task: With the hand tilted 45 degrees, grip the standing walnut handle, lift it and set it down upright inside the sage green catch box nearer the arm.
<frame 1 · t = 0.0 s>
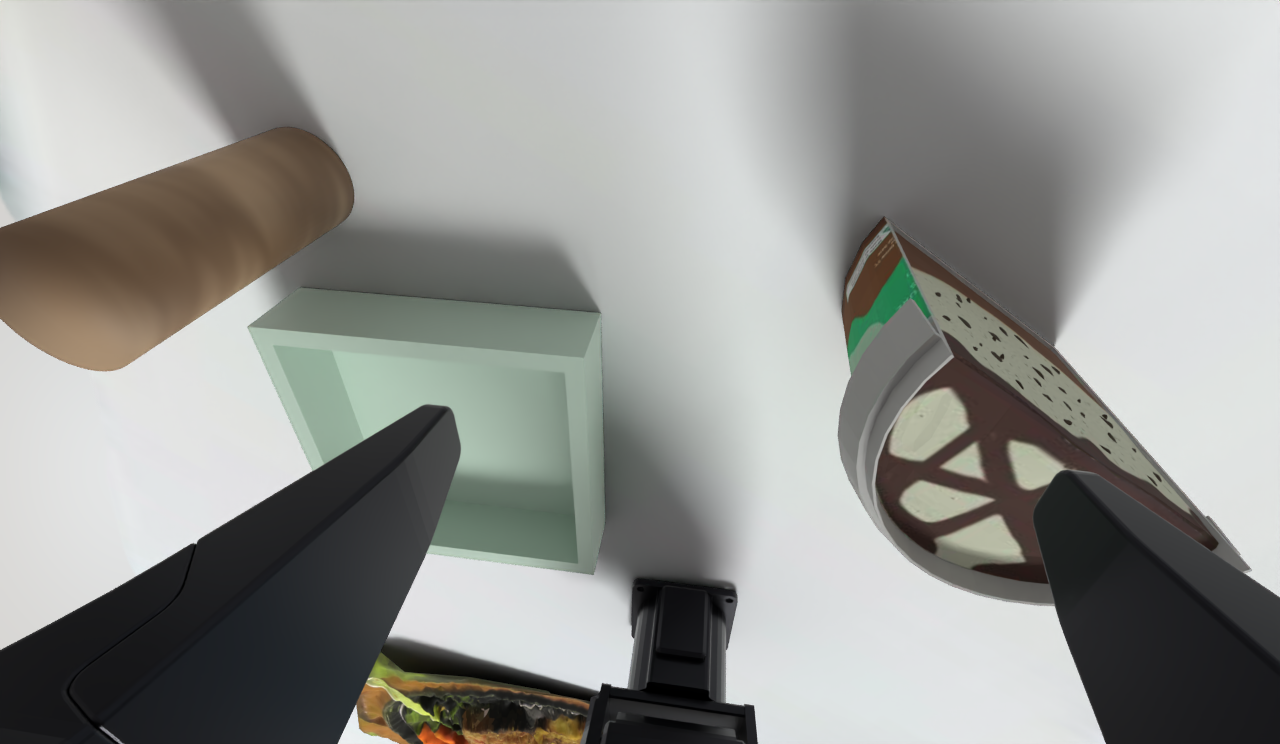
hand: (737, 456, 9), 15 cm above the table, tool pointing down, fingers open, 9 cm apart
catch box: (470, 418, 29), on the table
prepared meal: (524, 712, 51), on the table
food container: (908, 336, 24), on the table
walnut handle: (305, 179, 23), on the table
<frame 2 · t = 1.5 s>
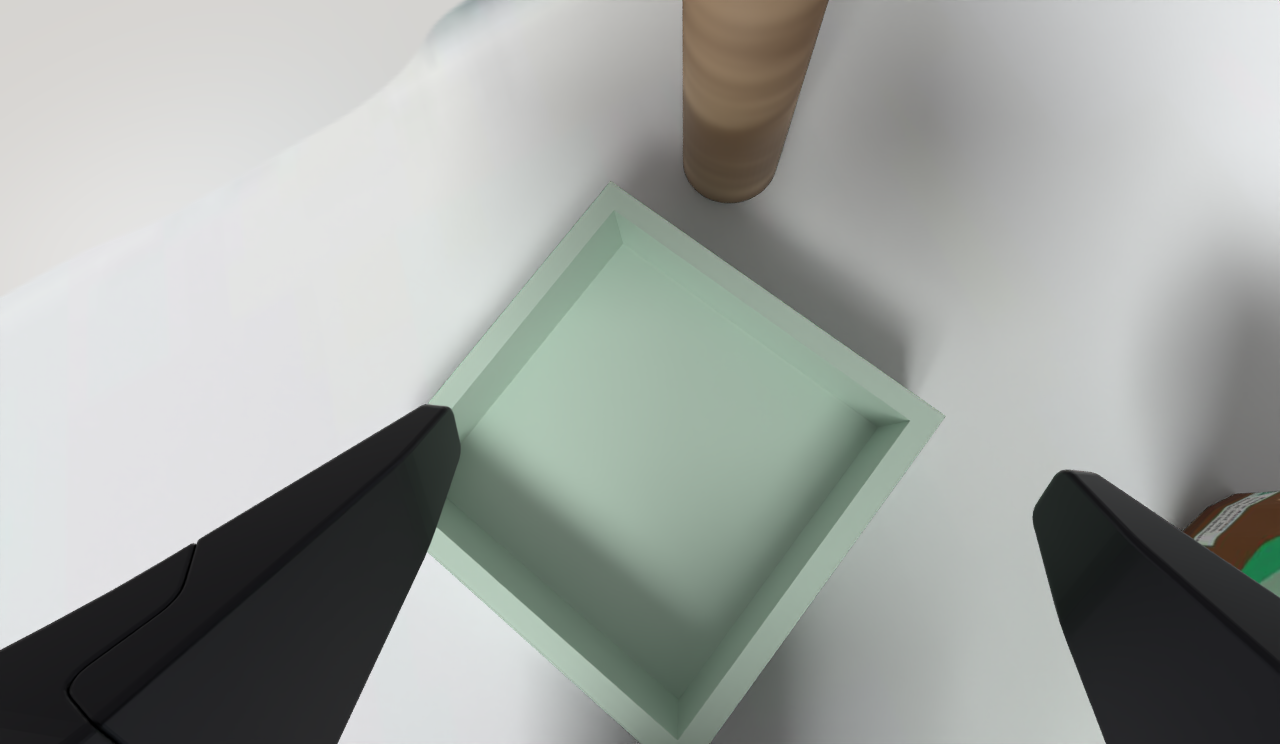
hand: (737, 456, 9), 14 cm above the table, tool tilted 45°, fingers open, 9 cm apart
catch box: (649, 455, 22), on the table
food container: (1219, 651, 20), on the table
walnut handle: (729, 159, 24), on the table
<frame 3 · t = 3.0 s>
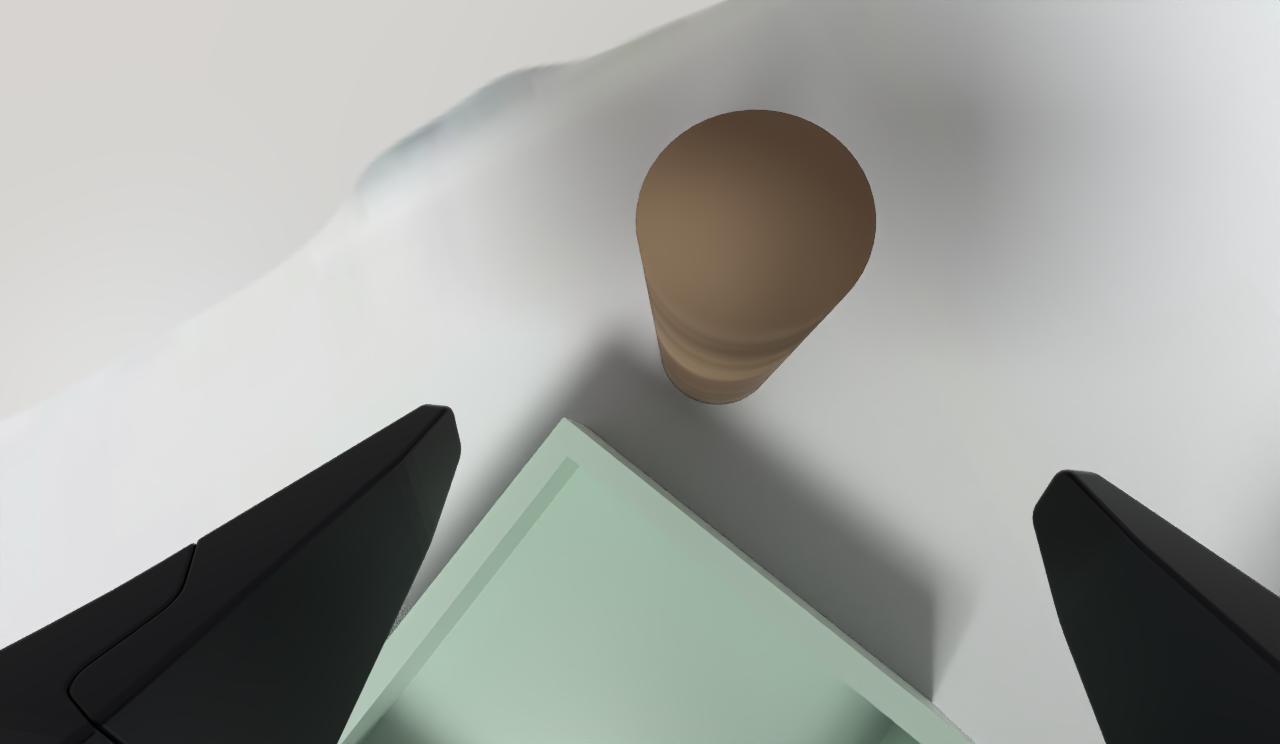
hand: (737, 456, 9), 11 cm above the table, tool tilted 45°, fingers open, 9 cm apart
catch box: (616, 734, 18), on the table
walnut handle: (717, 347, 20), on the table
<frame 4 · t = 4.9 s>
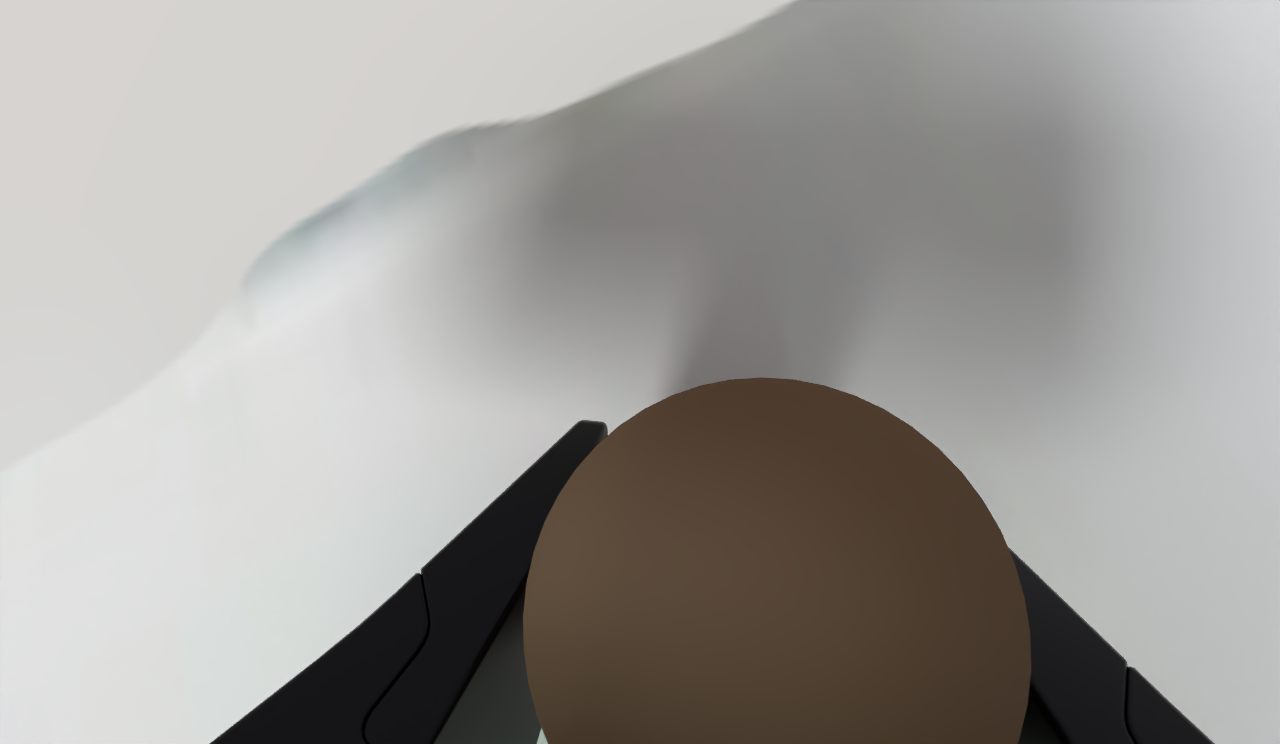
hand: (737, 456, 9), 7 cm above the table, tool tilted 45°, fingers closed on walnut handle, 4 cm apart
walnut handle: (709, 512, 15), on the table, touching gripper
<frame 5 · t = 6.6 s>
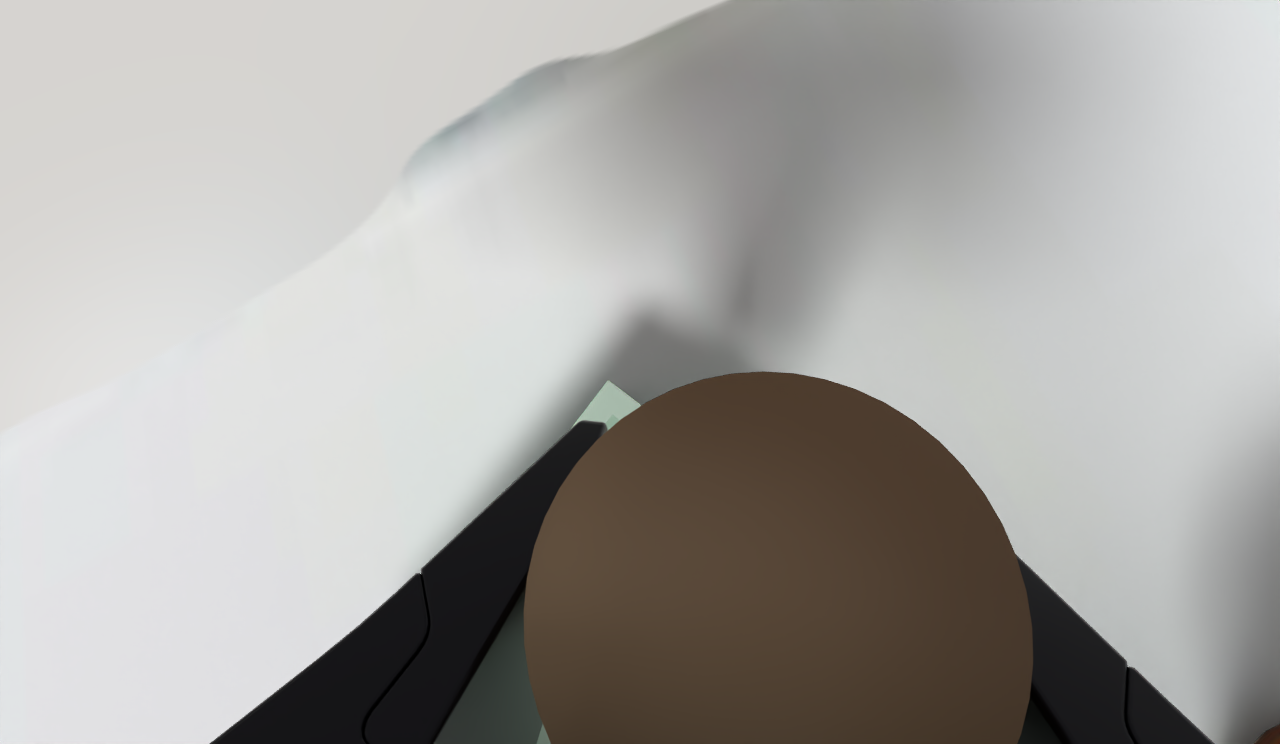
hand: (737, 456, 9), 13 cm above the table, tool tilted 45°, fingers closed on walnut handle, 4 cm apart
catch box: (654, 660, 20), on the table
walnut handle: (709, 510, 15), point 6 cm above the table, touching gripper
when the fingers open (8 cm above the table, at t = 8.3 s): walnut handle drops 1 cm, resting on catch box.
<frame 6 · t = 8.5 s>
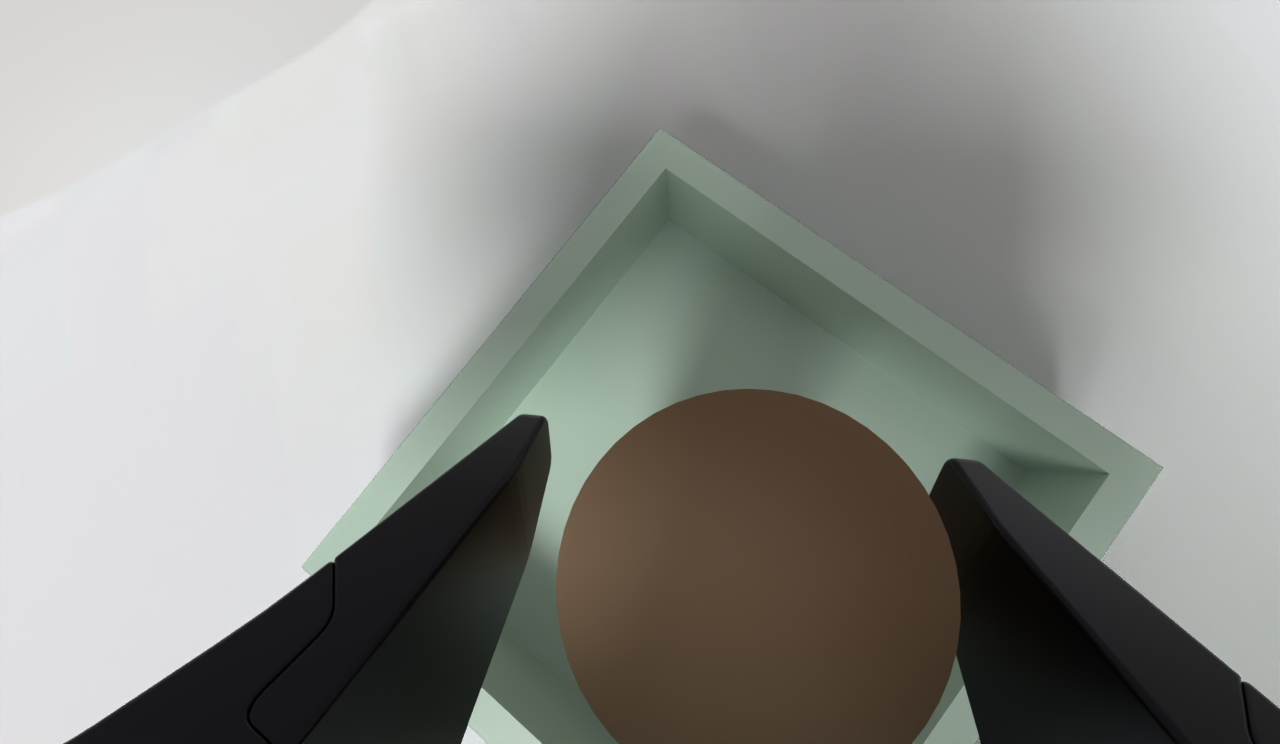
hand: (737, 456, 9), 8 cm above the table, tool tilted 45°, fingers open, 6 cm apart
catch box: (707, 507, 16), on the table
walnut handle: (708, 510, 16), resting on catch box
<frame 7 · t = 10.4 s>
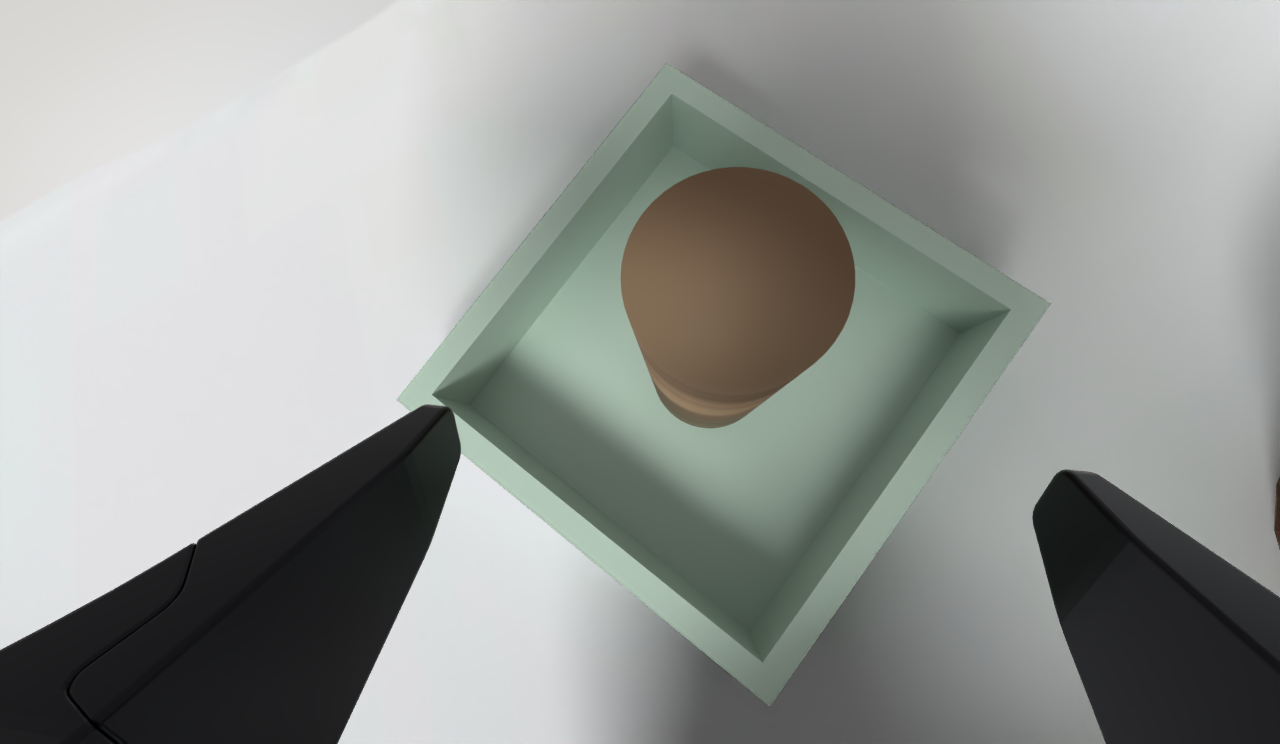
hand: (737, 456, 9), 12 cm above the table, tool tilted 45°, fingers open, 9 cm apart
catch box: (708, 371, 20), on the table
walnut handle: (709, 371, 20), resting on catch box
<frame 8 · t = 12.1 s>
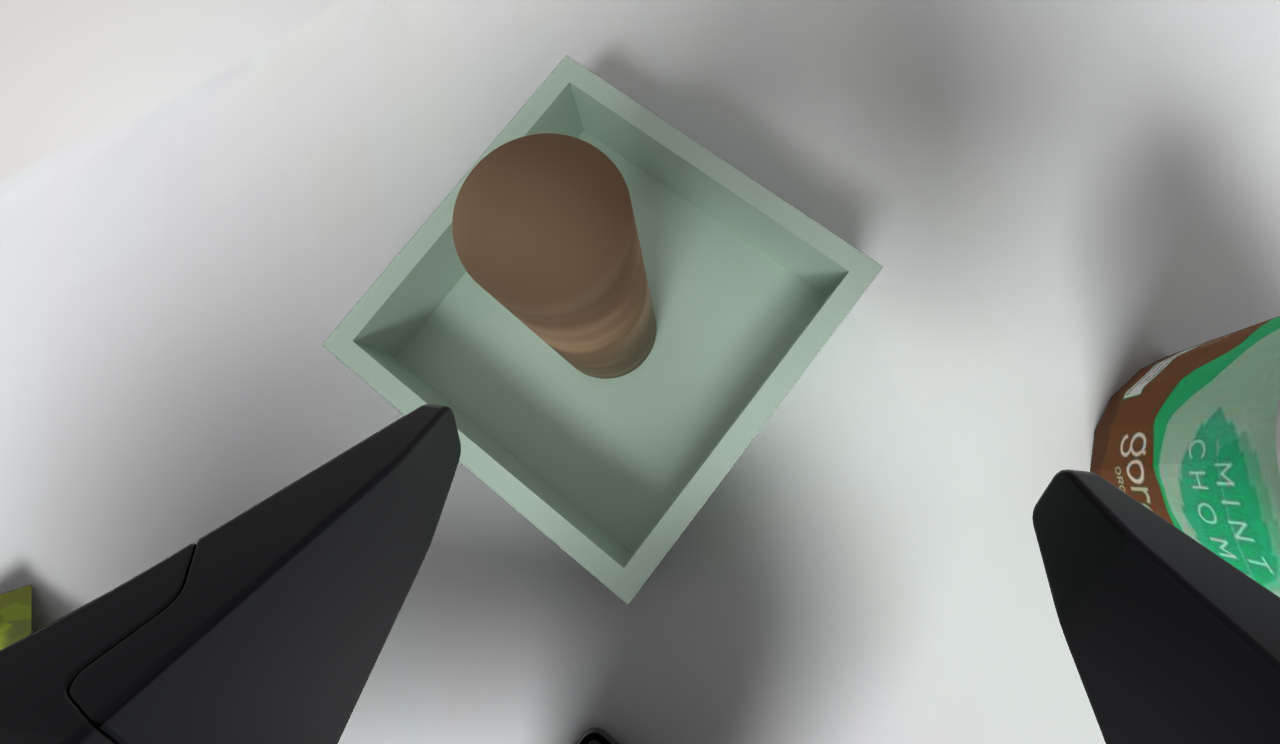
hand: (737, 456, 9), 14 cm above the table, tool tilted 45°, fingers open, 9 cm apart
catch box: (607, 330, 23), on the table
food container: (1149, 503, 21), on the table
walnut handle: (606, 329, 23), resting on catch box
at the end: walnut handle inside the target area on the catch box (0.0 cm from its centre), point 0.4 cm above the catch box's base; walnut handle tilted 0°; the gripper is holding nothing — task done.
